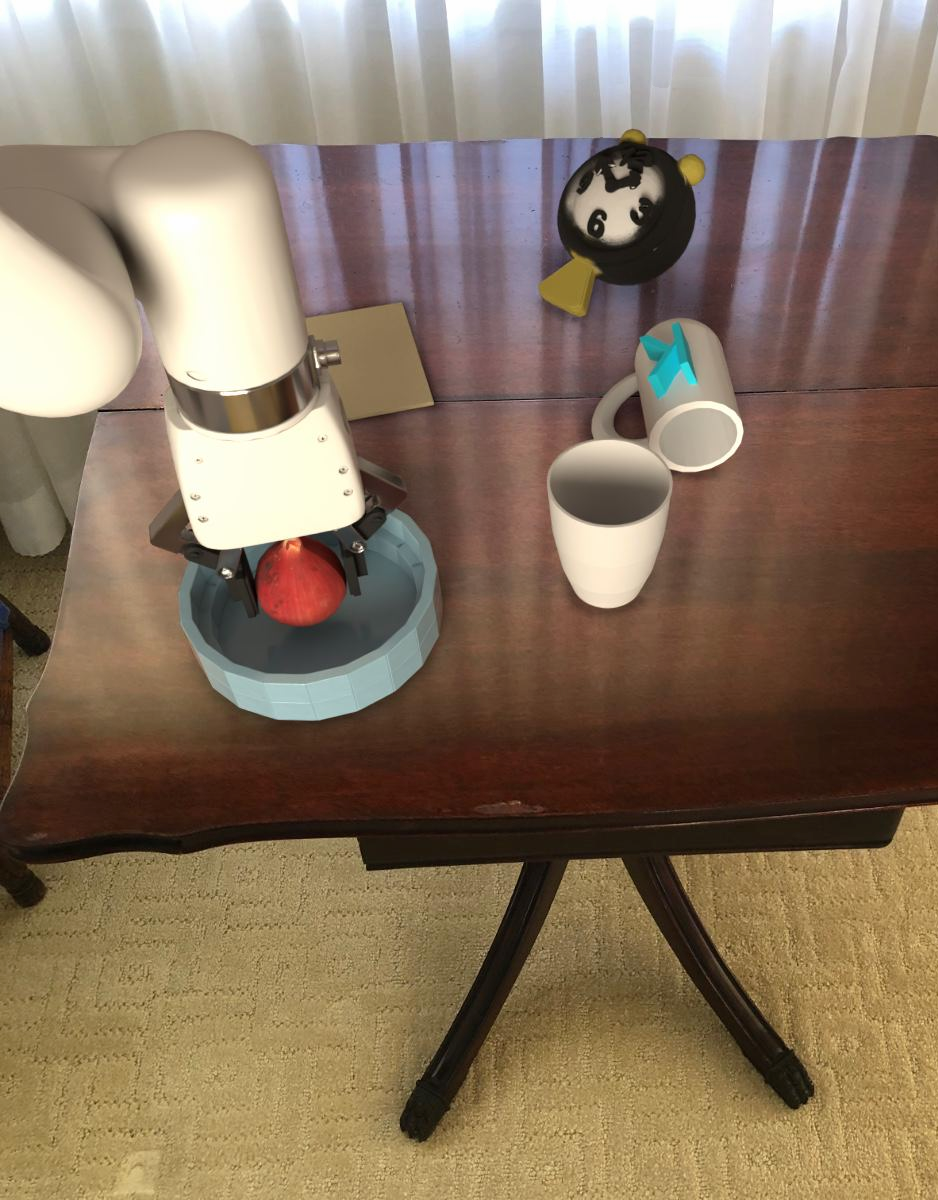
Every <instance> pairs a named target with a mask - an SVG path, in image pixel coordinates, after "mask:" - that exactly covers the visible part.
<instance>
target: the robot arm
mask: <svg viewBox="0 0 938 1200" xmlns="http://www.w3.org/2000/svg"><path fill="white" fill-rule="evenodd" d="M137 300H138V301H139V302H140V304H141V305H142V308H143V311H144V314H145V317H146V320H147V323H148V326H149V329H150V331H151V334H152V338H153V340H154V343H155V346H156V350H157V352H158V355H159V358H160V360H161V363H162V366H163V369H164V371H165V375H166V377H167V378H166V379H167V381H168V384H169V385H168V386H167V389H166V390H165V391H164V395H163V410H164V419H165V420H164V421H165V426H166V433H167V438H168V442H169V447H170V452H171V456H172V457H171V458H172V462H173V466H174V470H175V471H174V472H175V474H176V477H177V482H178V485H179V489H178V490H177V491H176V492H175V493H174V495H173V496H171V498H170V499H169V501H168V502H167V503H166V504H165V506H164V507H163V508H162V509H161V510H160V512H159V513H158V514H157V515H156V516H155V518H153V520H152V521H151V523H150V524H149V526H148V532H149V543H150V545H151V546H153V547H155V548H158V549H161V550H163V551H166V552H170V553H173V554H176V555H178V554H180V555H183V558H184V559H185V560H187V561H188V562H189V561H191V562H194V563H197V564H199V565H202V566H205V567H208V568H211V569H213V570H216V575H217V576H218V577H219V578H221V579H225V581H226V584H227V587H228V590H229V592H230V595H231V598H232V601H233V602H237V601H243V604H244V607H245V610H246V613H247V616H248V618H252V617H257V614H259V607H258V600H257V595H256V593H255V589H254V578H253V575H252V572H251V568H250V565H249V562H248V559H247V556H246V553H245V550H244V547H247V546H253V545H258V544H264V543H269V542H274V541H280V540H285V539H290V538H295V537H300V536H306V535H311V534H316V533H320V532H325V531H330V530H331V531H332V532H333V534H334V535H335V536H336V537H337V538H338V541H339V546H340V551H341V556H342V560H343V565H344V569H345V573H346V578H347V582H348V587H349V591H350V595H354V597H355V596H360V595H361V590H360V586H359V581H358V577H361V576H366V575H368V571H367V566H366V561H365V556H364V551H365V550H366V548H367V542H366V541H367V540H368V539H369V538H370V537H371V536H372V535H373V534H374V533H375V532H376V531H377V530H378V529H379V528H380V527H381V526H382V525H383V524H384V523H385V522H386V520H387V518H386V516H387V515H388V514H389V513H392V512H393V511H394V510H395V509H396V508H397V509H398V508H399V506H400V505H402V504H403V503H404V502H405V501H406V500H407V499H408V497H409V493H408V489H407V485H406V482H405V479H404V478H403V477H401V476H399V475H397V474H395V473H394V472H392V471H389V470H388V469H385V468H383V467H381V466H380V465H378V464H375V463H374V462H372V461H370V460H368V459H365V457H362V456H360V455H358V454H357V451H356V446H355V442H354V439H353V434H352V431H351V428H350V423H349V421H348V419H347V416H346V412H345V409H344V406H343V403H342V400H341V397H340V395H339V392H338V390H337V387H336V385H335V383H334V381H333V378H332V376H331V374H330V373H329V371H328V366H333V365H339V364H342V362H341V357H340V352H339V347H338V343H337V340H330V341H324V342H323V340H322V339H320V340H315V339H314V335H309V336H308V332H307V326H306V322H305V318H306V316H305V312H304V307H303V304H302V303H303V302H302V298H301V294H300V289H299V284H298V278H297V275H296V269H295V265H294V259H293V256H292V251H291V245H290V241H289V236H288V231H287V226H286V222H285V218H284V213H283V207H282V203H281V198H280V194H279V189H278V185H277V181H276V178H275V175H274V172H273V170H272V168H271V166H270V164H269V162H268V161H267V160H266V158H265V157H264V155H262V153H261V152H260V151H259V150H258V149H257V148H256V147H255V146H254V145H252V144H251V143H249V142H248V141H246V140H245V139H242V138H239V137H238V136H235V135H232V134H230V133H226V132H222V131H218V130H211V129H183V130H175V131H169V132H165V133H161V134H158V135H154V136H151V137H149V138H146V139H143V140H142V141H140V142H137V143H136V144H128V145H71V144H68V145H67V144H42V143H41V144H36V143H35V144H31V143H30V144H28V143H27V144H5V145H0V408H1V409H4V410H6V411H10V412H14V413H18V414H22V415H24V416H25V415H26V416H31V417H38V418H39V417H40V418H49V419H50V418H51V419H53V418H70V417H74V416H79V415H84V414H87V413H90V412H93V411H95V410H97V409H100V408H102V407H104V406H106V405H107V404H109V403H110V402H112V401H113V400H115V399H116V398H117V397H119V395H120V394H121V393H123V391H124V390H125V389H126V388H127V387H128V386H129V384H130V382H132V379H133V377H134V376H135V374H136V372H137V370H138V367H139V364H140V361H141V358H142V357H141V356H142V353H143V338H144V337H143V336H144V335H143V334H144V333H143V326H142V321H141V320H142V319H141V316H140V311H139V307H138V303H137V302H138V301H137ZM364 490H366V491H367V492H370V493H371V495H367V496H368V497H366V498H365V497H364V495H365V491H364ZM188 524H190V526H191V528H189V529H188V528H187V525H188Z"/></svg>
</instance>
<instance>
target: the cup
mask: <svg viewBox="0 0 938 1200" xmlns="http://www.w3.org/2000/svg"><path fill="white" fill-rule="evenodd" d="M625 439H626V438H625ZM625 439H618V438H600V439H594V438H593V439H589V440H588V439H587V440H585V441H584V440H583V441H582V442H579V443H576V444H574V445H572V446H570V447H568V448H567V449H565V450H564V451H563V452H562V453H560V454H559V455H558V456H557V457H556V458H555V459H554V461H553V462H552V463H551V465H550V467H549V469H548V472H547V476H546V490H547V499H548V506H549V514H550V523H551V531H552V535H553V538H554V542H555V546H556V548H557V553H558V557H559V560H560V561H559V562H560V565H561V568H562V570H563V572H564V574H565V576H566V577H567V580H568V582H569V583H570V586H571V587H572V589H573V591H574V593H575V595H576V596H577V597H578V598H579V599H580V600H582V601H583V602H584V603H586V604H588V605H589V606H593V607H595V608H602V609H614V608H619V607H622V606H626V605H627V604H630V603H631V602H632V601H634V599H635V598H636V597H637V596H638V595H639V593H640V592H641V590H642V588H643V587H644V586H645V583H646V582H647V580H648V579H649V577H650V575H651V574H652V571H653V569H654V567H655V564H656V560H657V557H658V554H659V553H660V549H661V545H662V543H663V539H664V536H665V533H666V527H667V522H668V516H669V510H670V504H671V498H672V495H673V494H672V493H673V488H674V487H673V486H674V481H673V475H672V472H671V469H669V467H668V466H667V464H666V463H665V461H664V460H663V459H662V458H661V457H660V456H659V455H658V454H657V453H655V452H654V451H653V450H651V449H649V448H648V447H646V446H644V445H641V444H639V443H636V442H633V441H629V440H625Z"/></svg>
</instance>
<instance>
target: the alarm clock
mask: <svg viewBox="0 0 938 1200" xmlns="http://www.w3.org/2000/svg"><path fill="white" fill-rule="evenodd" d="M706 170H707V167H706V164H705V161H704V160H703V159H702V158H701V157H700V156H698V155H697V154H694V153H688V154H684V155H683V156H682V157H680V158H679V160H678V159H675V157H674V156H673V155H672V154H670V153H668V152H667V151H666V150H663V149H661V148H659V147H656V146H652V145H649V144H648V138H647V136H646V135H645V134H644V132H643V131H642V130H640V129H638V128H629V129H627V130H625V131H624V132H623V134H621V137H620V138H619V140H618V144H615V145H613V146H609V147H606V148H604V149H602V150H600V151H597V152H596V153H595V154H594V155H592V156H590V157H589V158H588V159H585V161H584V162H583V163H582V164H580V166H579V167H577V169H576V170H575V171H574V172H573V173H572V174H571V176H570V177H569V179H568V181H567V183H566V184H565V186H564V188H563V190H562V193H561V196H560V198H559V201H558V202H559V203H558V207H557V215H556V219H557V220H556V225H557V226H556V227H557V231H558V236H559V240H560V242H561V244H562V246H563V248H564V250H566V252H567V254H568V255H569V256H570V258H571V260H570V261H568V262H567V263H566V264H564V265H563V266H561V267H560V268H559V269H557V270H556V271H555V272H553V273H552V274H551V275H549V276H548V277H546V278H545V279H544V280H542V281H541V282H540V283H538V285H537V290H538V292H539V294H540V296H541V297H542V299H544V300H545V301H546V302H548V303H550V304H551V305H553V306H555V307H557V308H559V309H561V310H563V311H565V312H567V313H569V314H571V315H573V316H576V317H584V316H586V315H587V314H588V310H589V307H590V302H591V297H592V294H593V288H594V285H595V280H596V279H597V280H599V281H600V282H601V281H602V282H603V283H606V284H610V285H616V286H636V285H641V284H644V283H647V282H650V281H652V280H654V279H657V278H658V277H660V276H662V275H664V274H665V273H666V272H668V271H669V269H671V268H672V267H673V266H674V265H675V264H676V263H677V262H678V261H679V260H680V259H681V258H682V256H683V254H684V253H685V252H686V249H687V248H688V246H689V244H690V242H691V240H692V236H693V233H694V230H695V225H696V218H697V205H696V204H697V203H696V197H695V196H696V195H695V192H694V188H693V187H695V186H697V185H698V184H700V183H701V182H702V180H703V179H704V178H705V175H706Z"/></svg>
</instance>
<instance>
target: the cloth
mask: <svg viewBox="0 0 938 1200" xmlns="http://www.w3.org/2000/svg"><path fill="white" fill-rule="evenodd" d="M305 322H306V326H307V332H308V336H309V335H314V339H315V340H320V339H322V340H323V342H324V341H330V340H337V343H338V347H339V352H340V357H341V362H342V364H339V365H333V366H328V371H329V373H330V374H331V376H332V378H333V381H334V383H335V385H336V387H337V390H338V392H339V395H340V397H341V400H342V403H343V406H344V409H345V412H346V416H347V419H348V422H349V421H355V420H360V419H361V420H362V419H366V418H371V417H377V416H381V415H387V414H388V415H389V414H393V413H398V412H402V411H410V410H415V409H421V408H425V407H431V406H434V405H435V402H434V399H433V398H434V397H433V395H432V392H431V389H430V386H429V382H428V379H427V377H426V373H425V370H424V367H423V363H422V360H421V358H420V354H419V350H418V348H417V345H416V341H415V339H414V335H413V332H412V328H411V326H410V322H409V319H408V316H407V313H406V309H405V307H404V304H403V301H400V302H394V303H388V304H381V305H375V306H369V307H364V308H363V307H362V308H358V309H352V310H346V311H339V312H333V313H329V314H328V313H327V314H322V315H315V316H310V317H309V316H308V317H305Z"/></svg>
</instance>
